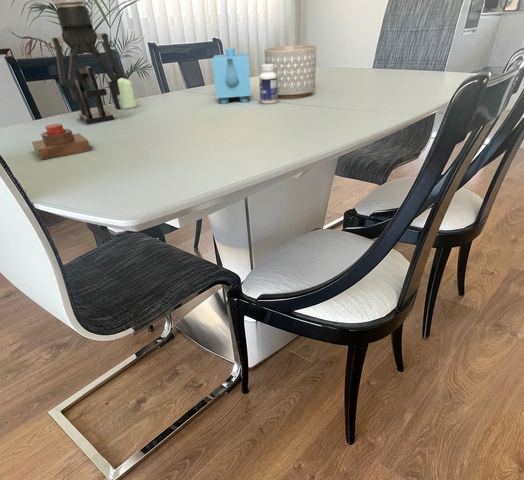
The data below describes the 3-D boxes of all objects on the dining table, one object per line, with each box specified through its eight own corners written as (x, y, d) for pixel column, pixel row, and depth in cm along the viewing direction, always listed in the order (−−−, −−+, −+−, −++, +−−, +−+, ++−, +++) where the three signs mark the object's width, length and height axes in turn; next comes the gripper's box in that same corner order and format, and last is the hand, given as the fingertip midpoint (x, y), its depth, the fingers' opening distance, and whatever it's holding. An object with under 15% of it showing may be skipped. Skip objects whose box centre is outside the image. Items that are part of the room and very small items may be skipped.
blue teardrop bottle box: (219, 96, 137) (214, 47, 128) (250, 93, 137) (247, 44, 127) (216, 108, 120) (209, 52, 111) (251, 105, 120) (247, 50, 111)
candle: (139, 105, 132) (132, 76, 126) (132, 108, 128) (125, 78, 123) (126, 105, 133) (118, 76, 127) (119, 108, 129) (111, 78, 124)
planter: (256, 97, 130) (254, 50, 122) (286, 89, 139) (285, 45, 131) (295, 101, 122) (295, 50, 113) (324, 92, 131) (326, 45, 122)
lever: (107, 97, 108) (105, 88, 106) (88, 100, 106) (85, 91, 104) (92, 76, 113) (90, 67, 111) (73, 79, 111) (71, 69, 109)
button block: (41, 160, 86) (33, 140, 83) (35, 151, 92) (28, 133, 89) (91, 150, 90) (84, 131, 87) (82, 143, 96) (76, 124, 93)
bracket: (114, 119, 116) (100, 67, 107) (87, 124, 113) (70, 70, 104) (105, 114, 122) (91, 65, 114) (80, 119, 119) (63, 68, 111)
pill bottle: (257, 103, 123) (254, 65, 117) (268, 100, 126) (267, 63, 119) (269, 104, 120) (267, 66, 114) (280, 101, 123) (280, 63, 116)
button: (50, 137, 87) (46, 128, 86) (47, 134, 89) (44, 125, 88) (66, 134, 88) (63, 125, 87) (63, 131, 90) (60, 123, 89)
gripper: (25, 8, 88) (64, 120, 103) (118, 2, 96) (142, 107, 111) (21, 9, 93) (59, 116, 108) (110, 4, 101) (134, 104, 116)
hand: (101, 111), depth 109 cm, fingers open, 9 cm apart
